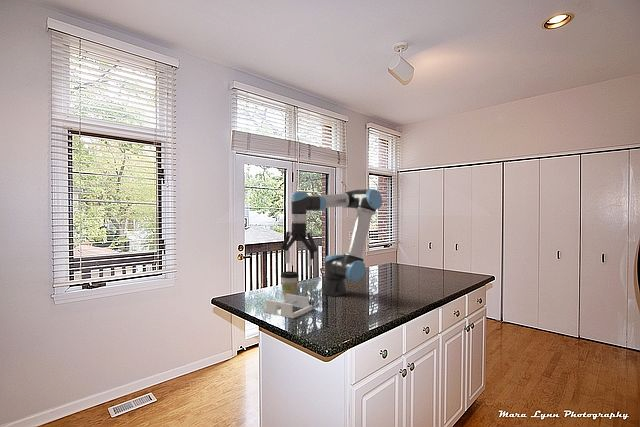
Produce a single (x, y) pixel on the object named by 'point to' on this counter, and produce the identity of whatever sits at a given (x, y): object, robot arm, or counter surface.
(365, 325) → the counter surface
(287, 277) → the coffee cup
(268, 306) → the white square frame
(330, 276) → the robot arm
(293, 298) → the pusher
